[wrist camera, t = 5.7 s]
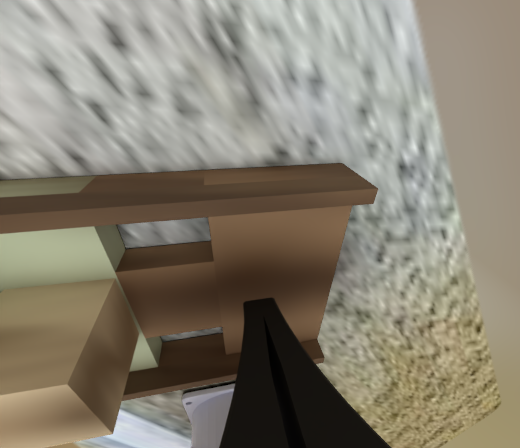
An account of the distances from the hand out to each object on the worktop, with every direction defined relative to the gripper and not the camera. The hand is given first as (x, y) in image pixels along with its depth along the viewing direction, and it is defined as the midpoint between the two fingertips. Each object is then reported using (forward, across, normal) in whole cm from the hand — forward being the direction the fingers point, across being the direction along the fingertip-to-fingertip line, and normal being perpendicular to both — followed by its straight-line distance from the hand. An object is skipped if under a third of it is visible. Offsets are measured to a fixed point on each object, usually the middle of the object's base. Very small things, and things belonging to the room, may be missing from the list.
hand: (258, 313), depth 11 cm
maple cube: (+1, +8, 0) cm, 8 cm away
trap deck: (+3, +3, 0) cm, 4 cm away
